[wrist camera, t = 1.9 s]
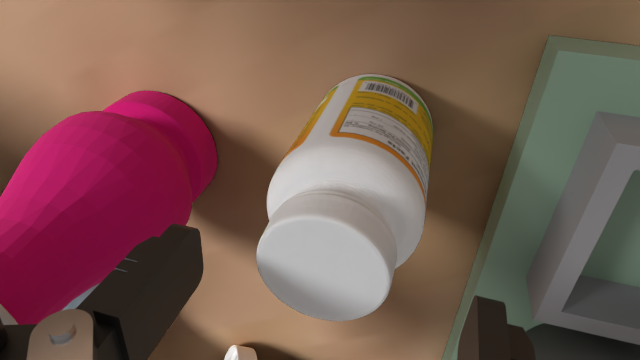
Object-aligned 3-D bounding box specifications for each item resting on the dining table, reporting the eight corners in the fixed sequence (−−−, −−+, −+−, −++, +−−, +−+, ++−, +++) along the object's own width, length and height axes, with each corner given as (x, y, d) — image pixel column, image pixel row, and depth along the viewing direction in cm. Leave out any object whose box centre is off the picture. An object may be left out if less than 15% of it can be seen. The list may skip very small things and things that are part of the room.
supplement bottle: (341, 188, 23) (278, 344, 15) (299, 91, 21) (199, 215, 13) (448, 164, 21) (441, 333, 13) (414, 53, 19) (379, 174, 11)
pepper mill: (82, 88, 24) (-738, 514, 8) (200, 71, 22) (-618, 634, 5) (137, 202, 27) (-344, 665, 11) (244, 198, 25) (-165, 778, 9)
